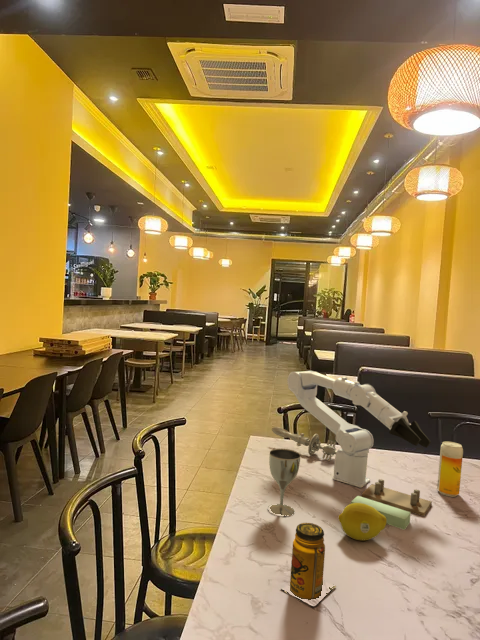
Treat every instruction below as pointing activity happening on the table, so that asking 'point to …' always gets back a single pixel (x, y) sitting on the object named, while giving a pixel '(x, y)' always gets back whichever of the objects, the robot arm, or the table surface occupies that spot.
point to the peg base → (397, 498)
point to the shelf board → (388, 512)
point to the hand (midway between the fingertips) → (423, 443)
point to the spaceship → (308, 442)
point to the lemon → (361, 521)
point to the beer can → (450, 468)
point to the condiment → (308, 562)
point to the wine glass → (283, 474)
